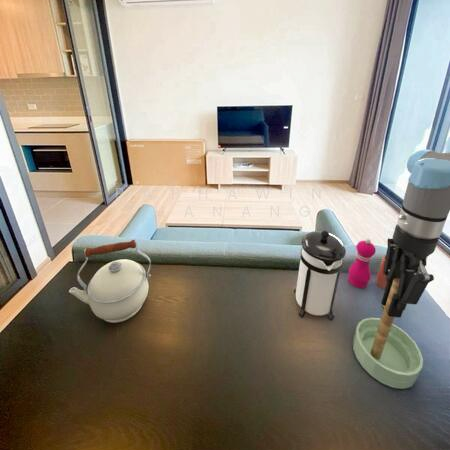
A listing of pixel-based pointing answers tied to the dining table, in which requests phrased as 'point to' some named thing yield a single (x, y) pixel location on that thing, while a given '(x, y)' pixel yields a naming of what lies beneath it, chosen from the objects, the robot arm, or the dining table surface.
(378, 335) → the stirring stick
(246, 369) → the dining table surface
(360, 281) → the pepper mill
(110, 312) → the kettle
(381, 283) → the utensil pot
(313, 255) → the coffee press
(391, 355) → the bowl
